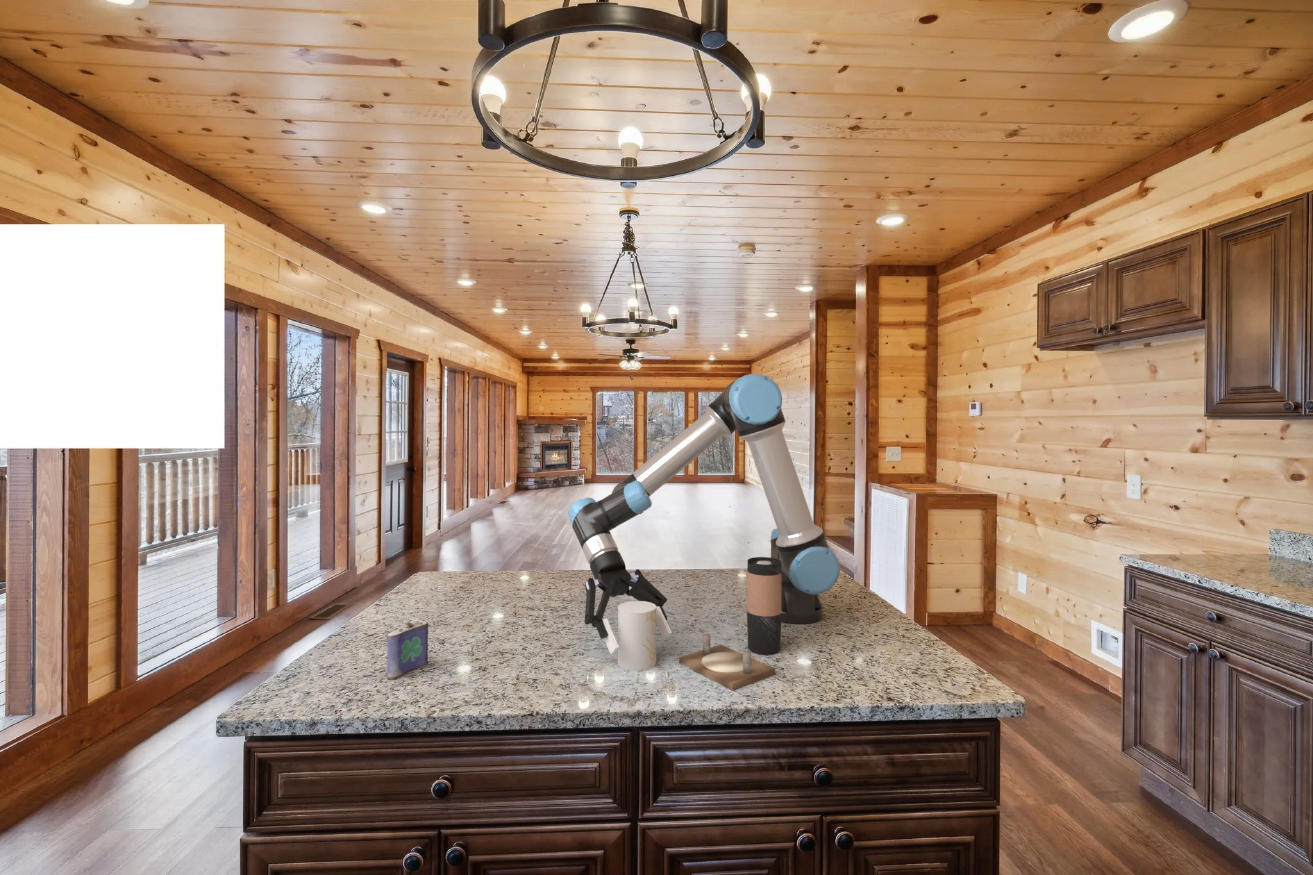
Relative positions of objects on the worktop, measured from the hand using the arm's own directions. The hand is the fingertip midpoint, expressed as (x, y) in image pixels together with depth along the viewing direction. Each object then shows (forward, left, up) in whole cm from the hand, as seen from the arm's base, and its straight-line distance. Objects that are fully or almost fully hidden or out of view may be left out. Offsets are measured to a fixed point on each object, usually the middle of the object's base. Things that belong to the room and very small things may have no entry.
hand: (642, 643), depth 120 cm
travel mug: (-28, -6, -5) cm, 29 cm away
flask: (+48, -4, -5) cm, 48 cm away
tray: (-17, +3, -5) cm, 18 cm away
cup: (+1, -2, -5) cm, 5 cm away
